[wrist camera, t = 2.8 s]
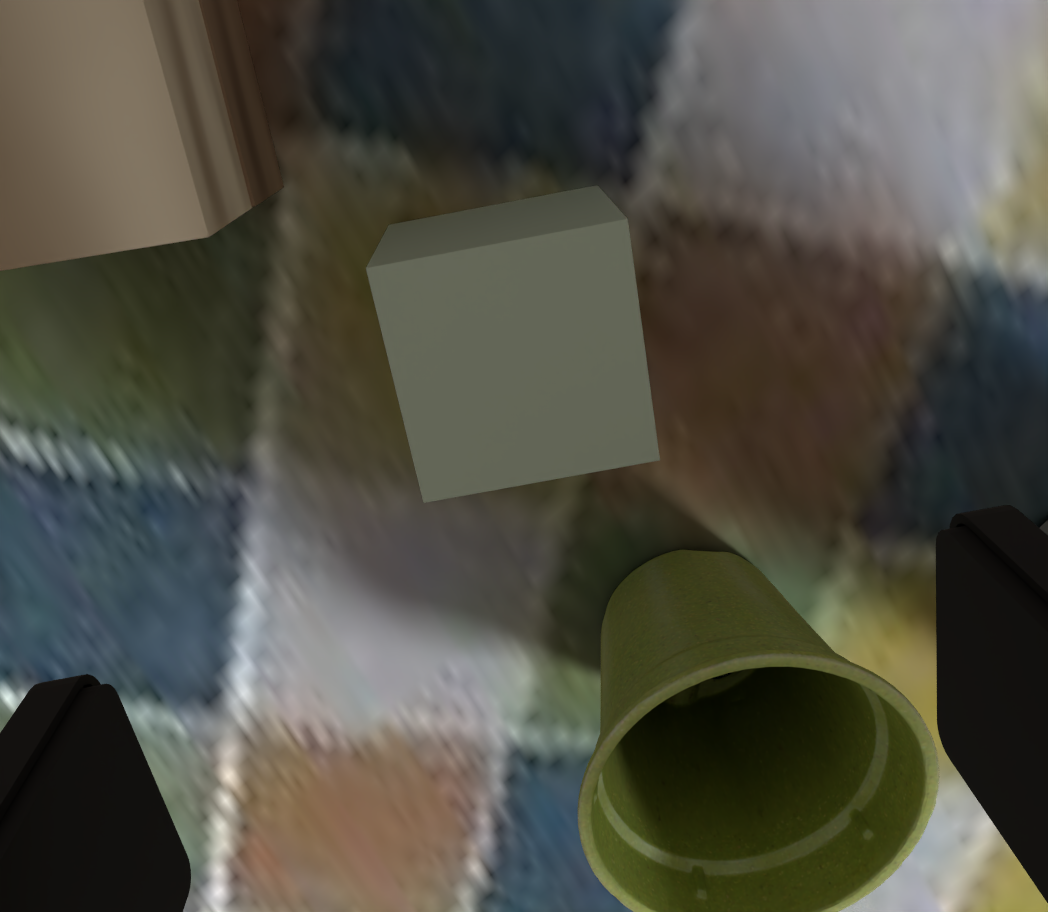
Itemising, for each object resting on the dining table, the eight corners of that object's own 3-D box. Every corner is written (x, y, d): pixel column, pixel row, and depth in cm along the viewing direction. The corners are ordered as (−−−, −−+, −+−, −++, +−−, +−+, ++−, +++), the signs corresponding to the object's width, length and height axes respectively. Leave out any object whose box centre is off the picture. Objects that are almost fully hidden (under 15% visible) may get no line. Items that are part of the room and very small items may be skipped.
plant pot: (880, 627, 33) (1008, 809, 25) (669, 778, 35) (725, 990, 27) (715, 444, 30) (800, 586, 22) (496, 622, 32) (502, 808, 24)
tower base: (192, -190, 23) (137, -237, 20) (286, 185, 27) (255, 206, 23) (-167, -126, 23) (-286, -159, 20) (-26, 239, 27) (-106, 268, 23)
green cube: (597, 184, 27) (627, 218, 21) (625, 383, 29) (660, 460, 24) (388, 224, 27) (365, 268, 22) (433, 418, 29) (423, 503, 24)
